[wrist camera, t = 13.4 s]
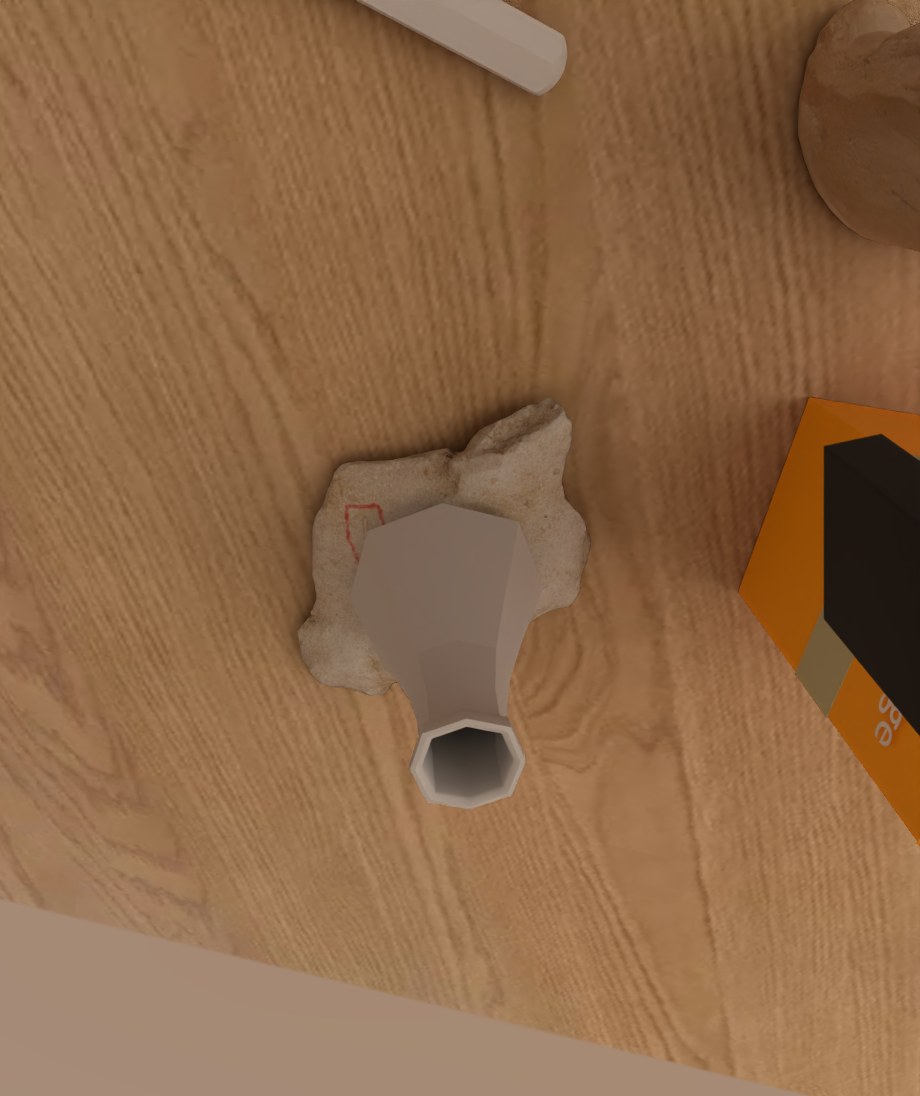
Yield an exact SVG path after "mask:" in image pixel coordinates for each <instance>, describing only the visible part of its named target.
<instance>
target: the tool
mask: <svg viewBox="0 0 920 1096" xmlns="http://www.w3.org/2000/svg"><path fill="white" fill-rule="evenodd" d="M356 1H358V2H360V3H362V4H364V5H365V6H367V7H369V8H371V9H373V10H375V11H377V12H379V13H380V14H382V15H384V16H386V17H388V18H390V19H392V20H394V21H396V22H397V23H399V24H401V25H403V26H405V27H407V28H409V29H411V30H413V31H414V32H416V33H418V34H420V35H422V36H424V37H426V38H428V39H429V40H431V41H433V42H435V43H437V44H439V45H441V46H443V47H445V48H446V49H448V50H450V51H452V52H454V53H456V54H458V55H460V56H461V57H463V58H465V59H467V60H469V61H471V62H473V63H475V64H477V65H478V66H480V67H482V68H484V69H486V70H488V71H490V72H492V73H494V74H495V75H497V76H499V77H501V78H503V79H505V80H507V81H509V82H510V83H512V84H514V85H516V86H518V87H520V88H522V89H524V90H526V91H527V92H529V93H531V94H534V95H536V96H540V95H542V94H544V93H546V92H548V91H549V90H550V89H551V88H553V87H554V86H555V85H556V83H557V82H558V81H559V79H560V78H561V76H562V74H563V72H564V69H565V66H566V61H567V46H566V40H565V37H564V36H563V35H562V34H561V33H559V32H557V31H556V30H554V29H552V28H550V27H548V26H547V25H545V24H543V23H541V22H539V21H538V20H536V19H534V18H532V17H530V16H529V15H527V14H525V13H523V12H521V11H520V10H518V9H516V8H514V7H512V6H511V5H509V4H507V3H505V2H503V1H502V0H356Z"/></svg>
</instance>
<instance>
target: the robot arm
mask: <svg viewBox="0 0 920 1096" xmlns="http://www.w3.org/2000/svg"><path fill="white" fill-rule="evenodd" d="M824 620H825V621H826V622H827V624H828V625H829V626H830V627H831V628H832V630H833V631H834V632H835V633H836V635H837V636H838V637H839V638H840V639H841V641H842V642H843V643H844V644H845V646H846V647H847V648H848V649H849V650H850V652H851V653H852V654H853V655H854V657H855V658H856V659H857V660H858V662H859V663H860V664H861V665H862V666H863V668H864V669H865V670H866V671H867V673H868V674H869V675H870V676H871V677H872V679H873V680H874V681H875V682H876V684H877V685H878V686H879V687H880V688H881V690H882V691H883V692H884V693H885V695H886V696H887V697H888V698H889V699H890V701H891V702H892V703H893V704H894V706H895V707H896V708H897V709H898V710H899V712H900V713H901V714H902V715H903V717H904V718H905V719H906V720H907V721H908V723H909V724H910V725H911V726H912V728H913V729H914V730H915V731H916V732H917V734H918V735H919V736H920V460H918V459H917V458H915V457H914V456H913V455H911V454H910V453H908V452H907V451H905V450H904V449H903V448H901V447H900V446H898V445H897V444H896V443H894V442H893V441H891V440H890V439H889V438H887V437H886V436H884V435H883V434H878V435H873V436H868V437H864V438H859V439H854V440H850V441H845V442H840V443H836V444H831V445H826V446H824Z"/></svg>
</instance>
